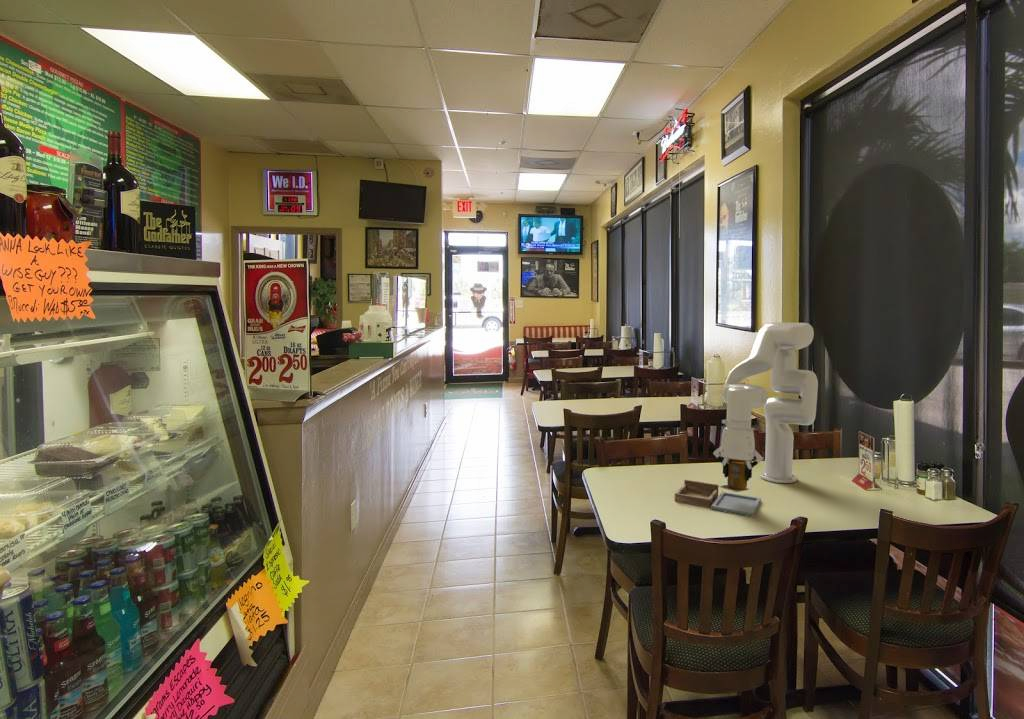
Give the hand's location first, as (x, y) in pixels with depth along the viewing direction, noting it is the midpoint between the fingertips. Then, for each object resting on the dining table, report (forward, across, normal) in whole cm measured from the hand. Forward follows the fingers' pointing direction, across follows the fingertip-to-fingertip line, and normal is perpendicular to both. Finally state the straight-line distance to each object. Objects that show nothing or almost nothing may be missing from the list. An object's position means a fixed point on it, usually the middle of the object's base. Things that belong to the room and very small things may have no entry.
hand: (737, 477), depth 181 cm
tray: (+10, 0, 0) cm, 10 cm away
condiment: (+4, 0, 0) cm, 4 cm away
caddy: (+10, -13, 0) cm, 16 cm away
